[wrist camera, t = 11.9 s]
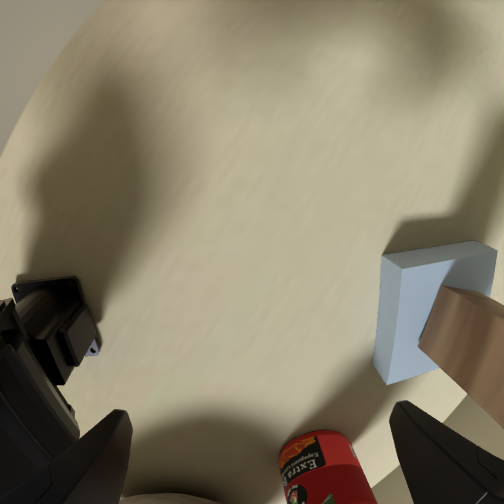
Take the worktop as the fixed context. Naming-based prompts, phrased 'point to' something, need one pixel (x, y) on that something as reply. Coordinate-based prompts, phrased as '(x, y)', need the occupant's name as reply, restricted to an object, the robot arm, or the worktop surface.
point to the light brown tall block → (469, 345)
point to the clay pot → (165, 499)
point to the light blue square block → (422, 300)
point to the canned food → (323, 471)
